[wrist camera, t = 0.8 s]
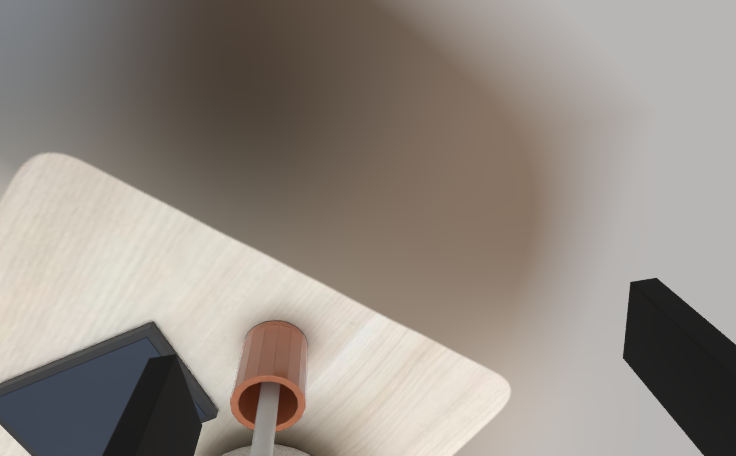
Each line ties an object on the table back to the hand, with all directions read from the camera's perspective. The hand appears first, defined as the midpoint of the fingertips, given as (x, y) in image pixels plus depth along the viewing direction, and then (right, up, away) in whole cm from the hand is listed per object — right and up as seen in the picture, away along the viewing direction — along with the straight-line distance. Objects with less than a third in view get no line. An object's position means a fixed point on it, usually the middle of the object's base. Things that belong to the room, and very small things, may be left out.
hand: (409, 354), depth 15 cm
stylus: (-9, -7, +30) cm, 32 cm away
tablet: (-25, -12, +31) cm, 42 cm away
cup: (-9, -7, +30) cm, 32 cm away
